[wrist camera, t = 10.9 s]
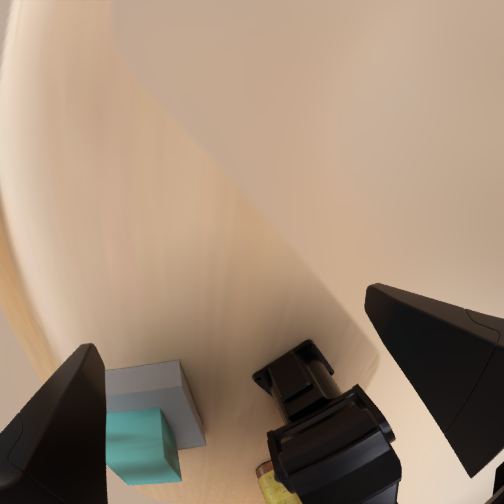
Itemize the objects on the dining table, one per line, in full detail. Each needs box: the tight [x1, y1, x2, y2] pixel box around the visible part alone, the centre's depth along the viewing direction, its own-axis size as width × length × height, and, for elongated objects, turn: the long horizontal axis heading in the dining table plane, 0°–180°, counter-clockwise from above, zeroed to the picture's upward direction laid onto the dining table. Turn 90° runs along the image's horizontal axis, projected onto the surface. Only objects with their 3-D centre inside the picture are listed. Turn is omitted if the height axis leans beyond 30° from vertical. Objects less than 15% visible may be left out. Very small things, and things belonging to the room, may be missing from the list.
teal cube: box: [106, 408, 182, 485], centre depth 20 cm, size 5×5×5 cm
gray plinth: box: [105, 360, 206, 450], centre depth 24 cm, size 10×10×3 cm
